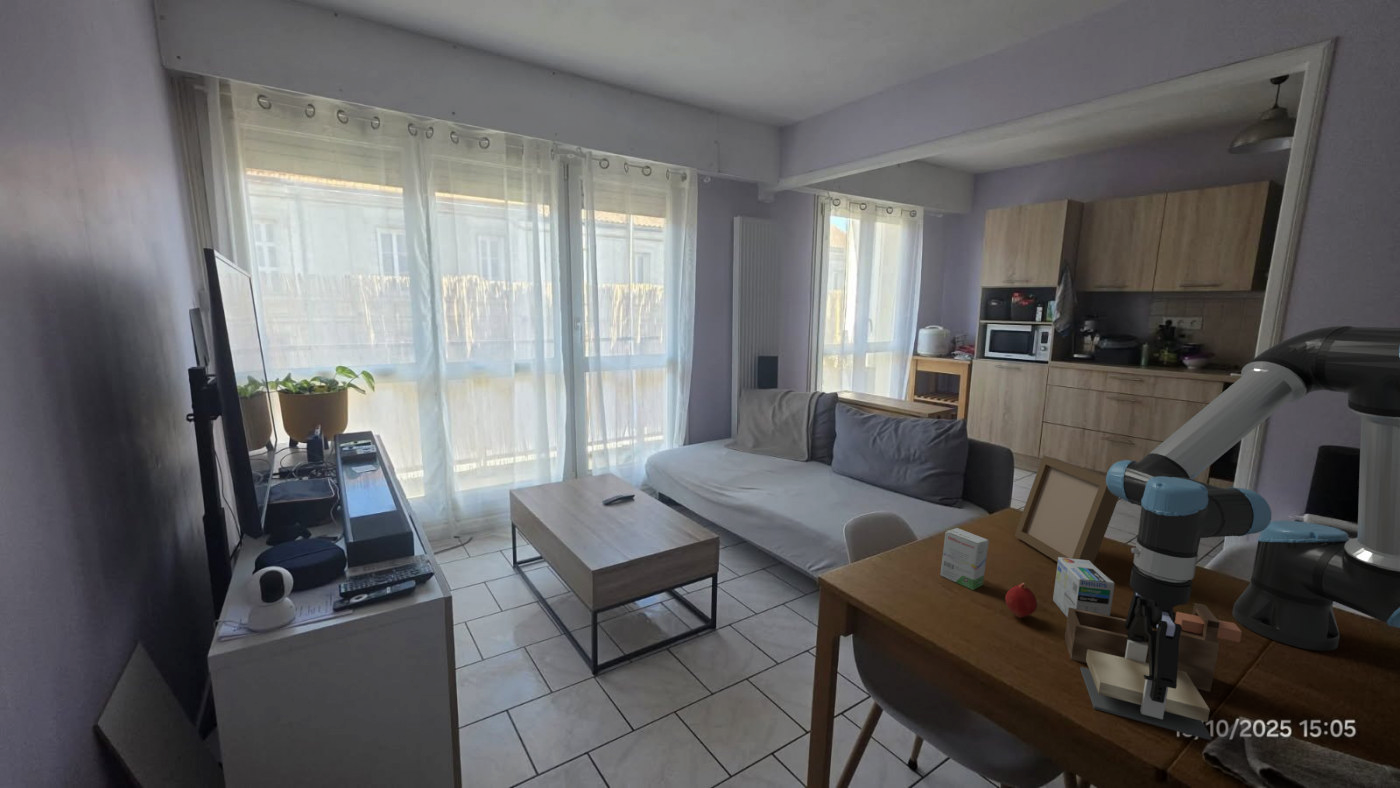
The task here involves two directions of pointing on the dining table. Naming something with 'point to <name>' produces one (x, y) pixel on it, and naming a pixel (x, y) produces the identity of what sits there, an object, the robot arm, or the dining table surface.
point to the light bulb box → (1082, 587)
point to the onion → (1021, 600)
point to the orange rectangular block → (1197, 625)
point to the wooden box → (1112, 639)
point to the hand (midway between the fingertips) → (1141, 694)
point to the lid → (1128, 684)
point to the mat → (1134, 712)
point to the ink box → (964, 558)
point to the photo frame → (1066, 511)
